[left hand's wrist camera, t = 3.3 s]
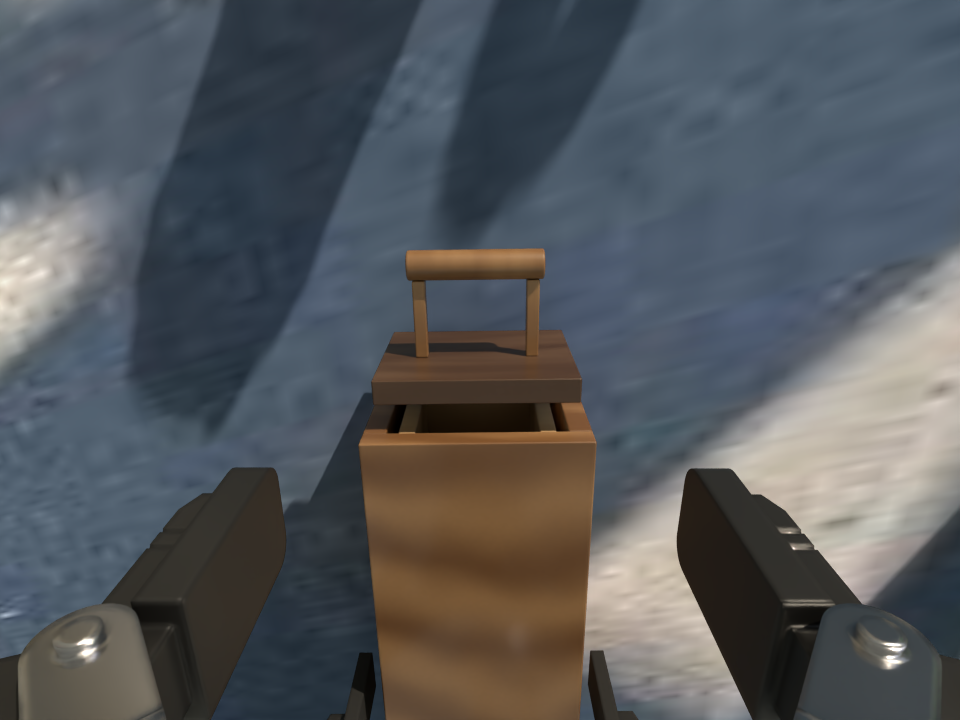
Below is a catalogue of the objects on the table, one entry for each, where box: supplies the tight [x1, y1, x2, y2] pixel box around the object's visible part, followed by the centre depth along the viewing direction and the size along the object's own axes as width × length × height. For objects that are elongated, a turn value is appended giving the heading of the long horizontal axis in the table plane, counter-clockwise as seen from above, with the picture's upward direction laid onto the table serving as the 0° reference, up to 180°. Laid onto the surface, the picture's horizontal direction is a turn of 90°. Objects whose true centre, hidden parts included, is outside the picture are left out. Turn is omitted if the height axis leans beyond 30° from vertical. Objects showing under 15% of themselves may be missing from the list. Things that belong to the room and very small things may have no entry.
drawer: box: [371, 249, 582, 433], centre depth 32 cm, size 26×9×7 cm, turn 1°
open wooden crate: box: [358, 402, 597, 720], centre depth 34 cm, size 22×11×9 cm, turn 1°
